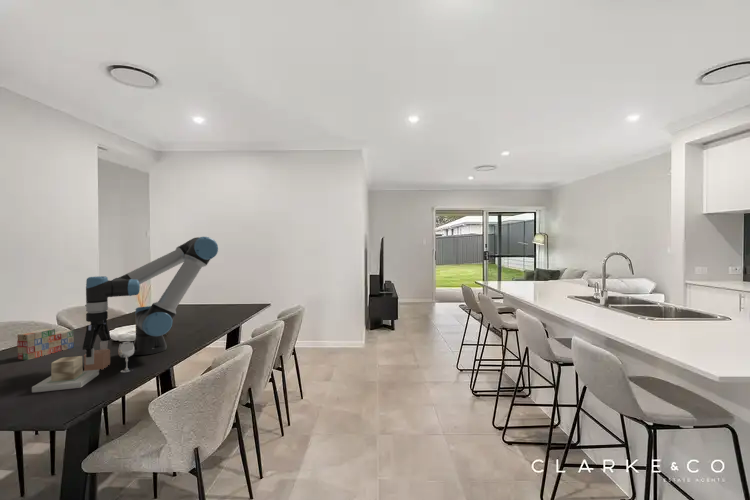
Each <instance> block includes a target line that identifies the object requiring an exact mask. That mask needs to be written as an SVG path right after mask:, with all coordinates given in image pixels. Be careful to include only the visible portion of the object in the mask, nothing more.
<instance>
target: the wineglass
mask: <svg viewBox="0 0 750 500" xmlns="http://www.w3.org/2000/svg"><path fill="white" fill-rule="evenodd" d="M117 350H118V351H117V353H118V354H117V355H118V356H119V357H120V358H122V359H123V358H124V359H125V360H124V362H125V368H124V369H122V370H120V373H130V372H132V371H134V369H133V368H128V362H129V358H130V357H132V356H134V351H135V348H134V341H131V340H130V341H123V342H120V343H119V346H118V349H117ZM131 370H132V371H131Z"/></svg>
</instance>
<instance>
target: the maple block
mask: <svg viewBox="0 0 750 500" xmlns="http://www.w3.org/2000/svg"><path fill="white" fill-rule="evenodd" d="M83 363H84V361H83V355H79V356H78V355H76V356H67V357H60V358H58V359H56V360H54V361H52V362H51V366H50V367H51V371H50V372H51V373H50V374H51V375H50V376H51V379H52V381H61V380H71V379H75V378H76V377H78V376H79V375H81V374H82V373H83V371H84V370H83V368H84V365H83Z"/></svg>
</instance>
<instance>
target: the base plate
mask: <svg viewBox="0 0 750 500" xmlns="http://www.w3.org/2000/svg"><path fill="white" fill-rule="evenodd" d="M99 375H100V370H88V371H84V370H83V373H82V374H81V375H79V376H78V377H76V378H75V379H71V380H61V381H52V379H51V375H50V376H48V377H47V378H44V379H43V380H42V381H39V382H37V384H35V385H32V386H31V393H41V392H50V391H60V390H61V391H62V390H71V389H80V388H82V387H84V386H85V385H86V384H88V383H90V382H91V381H92V380H94V379H95V378H96V377H97V376H99Z"/></svg>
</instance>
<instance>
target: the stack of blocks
mask: <svg viewBox="0 0 750 500" xmlns="http://www.w3.org/2000/svg"><path fill="white" fill-rule="evenodd" d="M74 338H75V336H74V330H65V329H64V330H58V331H56V329H55V328H46V327H45V328H40V329H37V330H31V331H26V332H22V333H18V334H17V340H16V341H17V343H16V344H17V345H16V346H17V360H23V361H24V360H25V361H28V360H32V359H37V358H40V356H41V357H45V356H47V355H51V353H52V354H55V353H59V352H63V351H66V350H70V349H73V348H74V347H75V343H74V341H75V340H74ZM62 350H63V351H62ZM58 351H59V352H58ZM44 355H45V356H44Z"/></svg>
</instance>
